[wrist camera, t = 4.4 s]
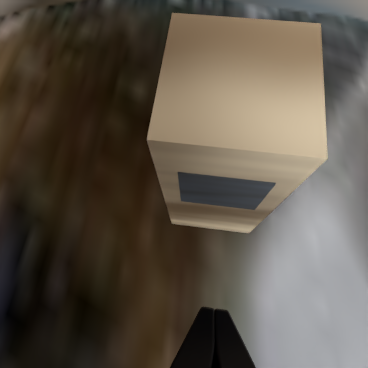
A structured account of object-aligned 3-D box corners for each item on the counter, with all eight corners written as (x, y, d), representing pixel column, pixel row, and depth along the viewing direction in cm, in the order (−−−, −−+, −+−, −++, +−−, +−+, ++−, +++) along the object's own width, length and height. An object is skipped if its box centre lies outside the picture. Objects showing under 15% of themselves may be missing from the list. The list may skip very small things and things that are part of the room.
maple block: (249, 234, 18) (327, 160, 8) (171, 224, 18) (146, 141, 8) (252, 162, 20) (320, 23, 9) (182, 155, 20) (172, 12, 10)
